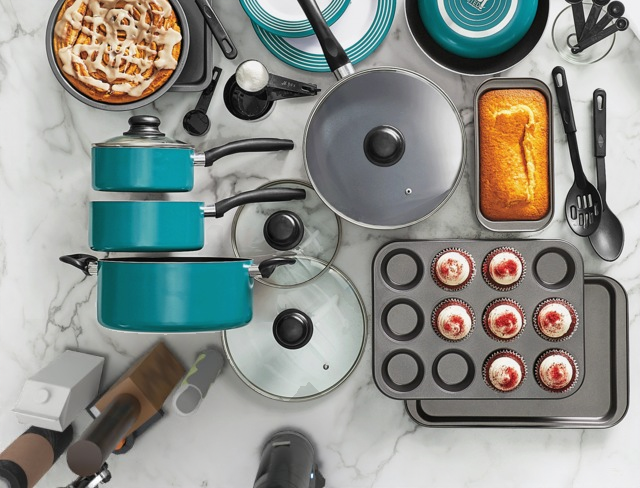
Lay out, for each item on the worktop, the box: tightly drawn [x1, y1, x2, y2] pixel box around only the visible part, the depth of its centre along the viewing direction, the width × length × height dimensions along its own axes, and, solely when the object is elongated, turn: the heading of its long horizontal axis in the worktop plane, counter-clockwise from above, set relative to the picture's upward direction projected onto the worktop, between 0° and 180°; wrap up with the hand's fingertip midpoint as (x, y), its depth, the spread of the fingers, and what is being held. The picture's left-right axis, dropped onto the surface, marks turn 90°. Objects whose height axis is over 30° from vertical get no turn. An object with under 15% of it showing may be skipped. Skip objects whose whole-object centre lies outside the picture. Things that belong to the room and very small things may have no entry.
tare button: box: [115, 438, 126, 450], centre depth 119 cm, size 2×2×2 cm
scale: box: [84, 380, 165, 456], centre depth 121 cm, size 11×11×3 cm
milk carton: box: [10, 349, 106, 432], centre depth 113 cm, size 7×7×19 cm
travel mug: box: [0, 423, 74, 488], centre depth 113 cm, size 8×8×20 cm
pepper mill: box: [65, 393, 141, 477], centre depth 96 cm, size 5×5×16 cm
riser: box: [94, 341, 187, 440], centre depth 113 cm, size 7×7×18 cm
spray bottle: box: [171, 348, 225, 418], centre depth 112 cm, size 5×5×20 cm
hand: (96, 468), depth 109 cm, fingers closed
